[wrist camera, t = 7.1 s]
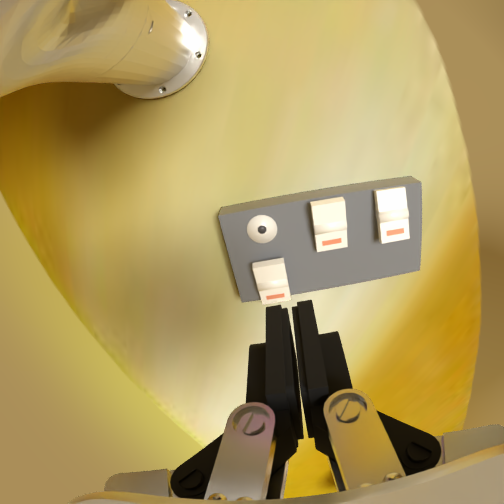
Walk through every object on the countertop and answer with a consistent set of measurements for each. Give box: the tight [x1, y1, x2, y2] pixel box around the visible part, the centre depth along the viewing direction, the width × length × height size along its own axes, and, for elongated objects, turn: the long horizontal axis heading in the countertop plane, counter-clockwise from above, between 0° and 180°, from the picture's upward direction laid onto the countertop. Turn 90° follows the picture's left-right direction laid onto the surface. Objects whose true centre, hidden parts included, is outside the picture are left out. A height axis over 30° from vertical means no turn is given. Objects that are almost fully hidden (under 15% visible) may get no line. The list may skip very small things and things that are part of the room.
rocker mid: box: [310, 197, 348, 252], centre depth 34 cm, size 6×4×2 cm, turn 12°
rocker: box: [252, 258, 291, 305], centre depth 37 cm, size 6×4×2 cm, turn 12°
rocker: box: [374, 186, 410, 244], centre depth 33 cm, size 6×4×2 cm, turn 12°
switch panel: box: [218, 176, 422, 303], centre depth 37 cm, size 12×24×3 cm, turn 102°
